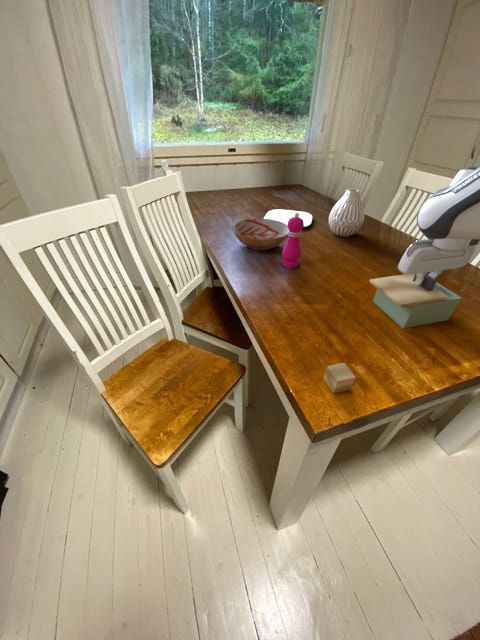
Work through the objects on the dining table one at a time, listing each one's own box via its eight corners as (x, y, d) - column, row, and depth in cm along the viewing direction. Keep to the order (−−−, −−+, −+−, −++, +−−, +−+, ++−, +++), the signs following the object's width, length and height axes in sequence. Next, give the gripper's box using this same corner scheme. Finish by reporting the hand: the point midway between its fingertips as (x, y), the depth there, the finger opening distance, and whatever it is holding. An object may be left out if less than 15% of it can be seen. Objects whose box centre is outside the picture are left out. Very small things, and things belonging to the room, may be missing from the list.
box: (447, 320, 82) (461, 298, 77) (403, 328, 78) (414, 306, 73) (413, 294, 92) (423, 274, 87) (372, 301, 89) (381, 280, 84)
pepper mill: (277, 263, 109) (282, 212, 97) (289, 258, 113) (295, 208, 100) (291, 270, 105) (298, 217, 92) (302, 264, 109) (311, 213, 96)
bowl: (243, 231, 135) (243, 215, 130) (293, 239, 129) (295, 222, 124) (224, 252, 117) (223, 234, 112) (281, 261, 110) (283, 243, 105)
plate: (313, 215, 156) (313, 212, 155) (309, 231, 137) (310, 227, 136) (269, 211, 161) (269, 208, 160) (260, 225, 142) (260, 222, 141)
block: (350, 389, 61) (355, 377, 59) (332, 393, 61) (337, 381, 58) (340, 375, 65) (344, 362, 62) (323, 378, 64) (327, 366, 61)
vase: (323, 227, 141) (331, 185, 129) (353, 228, 141) (365, 186, 128) (329, 239, 129) (339, 194, 116) (363, 240, 128) (377, 195, 116)
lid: (447, 299, 76) (454, 287, 73) (400, 307, 72) (405, 295, 70) (411, 275, 86) (416, 264, 83) (368, 281, 83) (372, 270, 80)
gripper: (422, 245, 66) (400, 293, 75) (488, 238, 70) (460, 284, 79) (403, 235, 71) (385, 281, 79) (466, 229, 75) (442, 273, 83)
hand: (423, 283), depth 79 cm, fingers closed on lid, 2 cm apart
